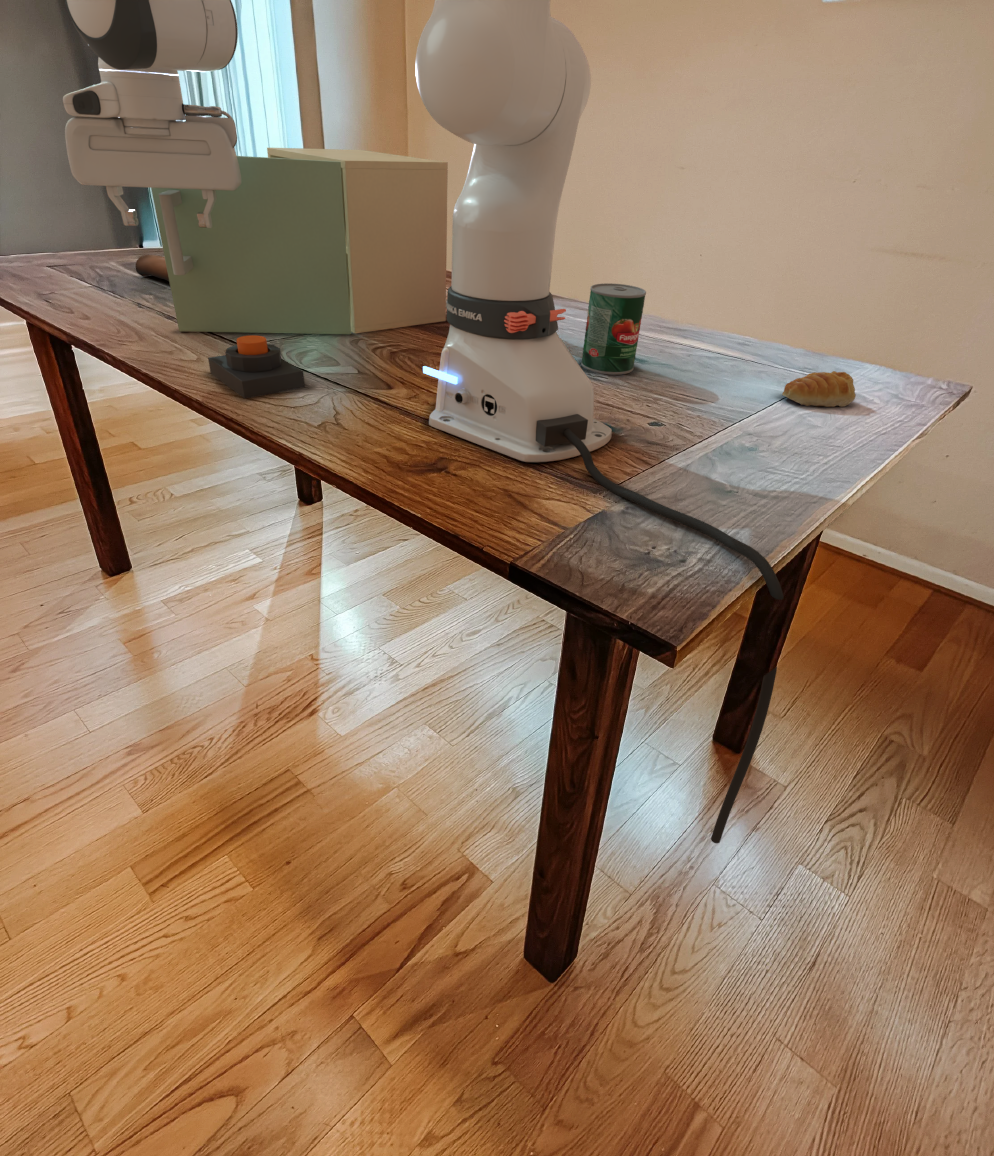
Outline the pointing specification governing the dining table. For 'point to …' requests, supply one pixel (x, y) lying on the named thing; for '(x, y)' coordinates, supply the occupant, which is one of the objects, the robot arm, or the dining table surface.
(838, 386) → the pastry
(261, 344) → the button
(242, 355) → the control block
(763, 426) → the dining table surface
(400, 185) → the cupboard
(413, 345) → the dining table surface
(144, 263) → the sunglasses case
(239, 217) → the cupboard door
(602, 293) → the canned tomato
